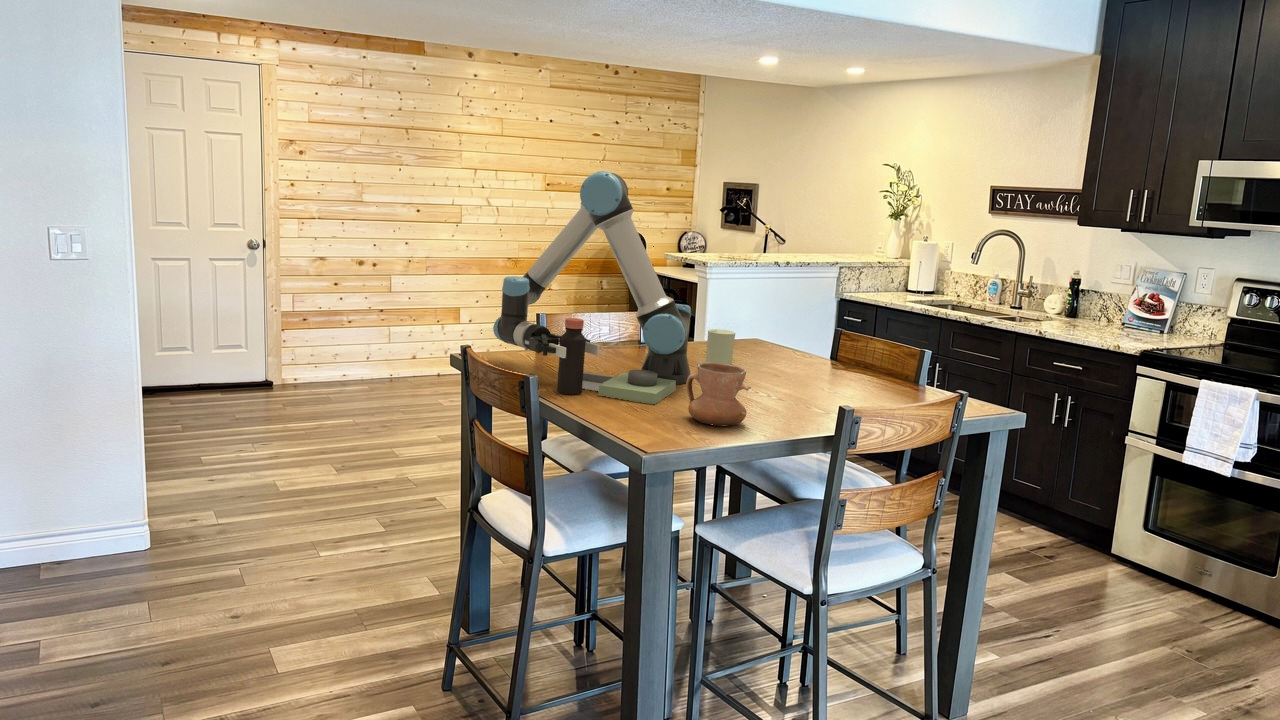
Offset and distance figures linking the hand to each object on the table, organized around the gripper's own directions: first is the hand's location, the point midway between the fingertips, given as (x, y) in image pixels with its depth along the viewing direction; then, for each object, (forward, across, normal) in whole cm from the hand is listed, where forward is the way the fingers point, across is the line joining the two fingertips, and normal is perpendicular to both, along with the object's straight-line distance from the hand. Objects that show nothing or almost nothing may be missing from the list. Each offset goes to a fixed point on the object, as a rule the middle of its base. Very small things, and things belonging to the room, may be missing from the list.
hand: (582, 351), depth 245 cm
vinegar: (-4, 0, -12) cm, 13 cm away
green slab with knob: (-1, -14, -12) cm, 19 cm away
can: (-16, -72, -12) cm, 75 cm away
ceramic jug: (+36, -15, -12) cm, 41 cm away
